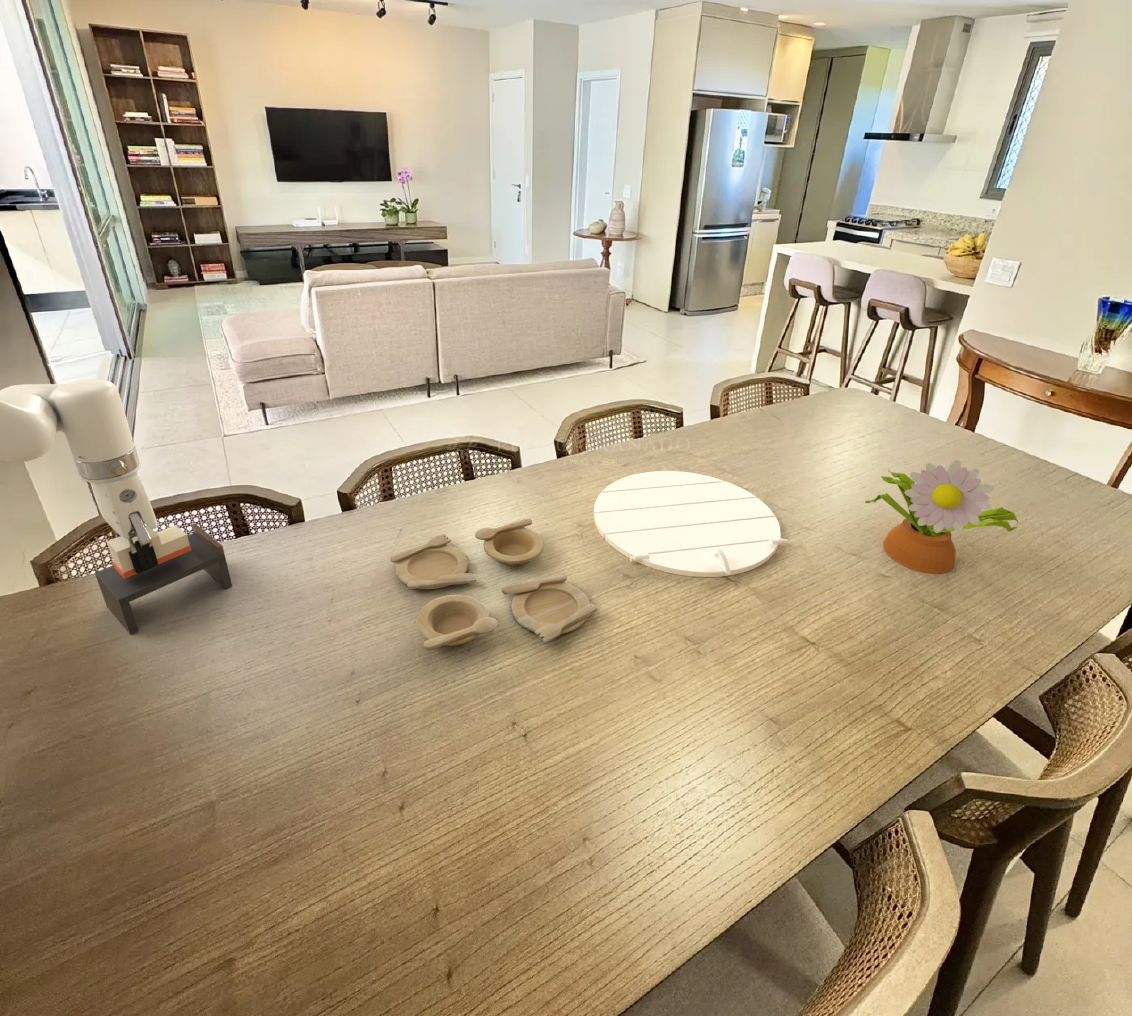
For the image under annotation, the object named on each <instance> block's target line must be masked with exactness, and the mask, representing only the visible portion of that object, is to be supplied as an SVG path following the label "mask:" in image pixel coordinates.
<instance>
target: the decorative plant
mask: <svg viewBox="0 0 1132 1016" xmlns="http://www.w3.org/2000/svg"><path fill="white" fill-rule="evenodd" d="M961 463H962V462H961V461H960V460H959V459H954V460H953V461H952V462H951V463H950V465H949V466H948V468H947V470H946V468H945V467H944V466H943V465H941V464H939V465H937V466H936V465H934V464H933V463H930V462H928V463H926V465H925V469H921V470H920V473H919V472H916V471H911V472H910V473H909V476H908V475H907V474H906V473H905V472H894V471H893V472H892V471H890V469H888V473H890V474H891V476H892V477H891V476H885V475H881V476H880V477H881V479H882V480H883V482H885V483H887V484H893V485H897V487H898V489H899V491H900V493H901V495H902V497H903V498H904V500H905V501H904V502H906V505H907V509H908V511H907V510H905V508H903V506H901V505H900V503H898V502H897V501H896V500H895V499H894V498H893V497H892V496H891V495H890V494H889V493H888V492H886V493H883V494H877V496H876V497H875V498H873V499H869V500H865V501H864V503H865V504H871V503H875V504H876V502H877V501H879V500H881V499H882V500H883V501H884V502H885V503H887V504H888V505H889V506H890V507H891V508H893V509H894V510H895V511H896V512H897V513H899V514H900V515H901V516H903V517H904V519H903V520H902V522H901V523H899V524H897V525H895V526H893V528H891V529H890V531H889V532H888V534H887V535H886V537H885V538H884V540H883V543H882V547H883V549H884V552H885V553H886V554H887V555H888V556H889V557H890V558H891V559H892V560H894V561H895V562H897V563H899V564H900V565H902V566H903V567H906V568H908V569H911V570H914V571H917V572H921V573H926V574H932V575H938V574H939V575H941V574H946V573H947V572H948V573H949V572H950V571H952V570H953V569H954V568H955V562H956V553H957V551H956V547H955V544H954V541H953V539H952V532H954V531H955V532H957V533H961V532H962V531H963V530H968V529H976V528H982V527H991V526H992V527H993V526H996V527H1001V528H1003V529H1006V531H1007V532H1012V531H1014V530H1015V529H1017V528H1019V527H1020V526H1013V527H1012V526H1011V525H1010V523H1009V522H1008V521H1016V523H1017V524H1019V520H1018V518H1017V515H1016V513H1015V512H1013V511H1011V510H1008V509H1005V508H1004V507H1003V506H1002V507H1001V506H1000V507H997V508H992V504H991V503H990V502H988V501H989V500H990V496H989V495H988V494H990V493H991V492H993V491H994V490H995V489H996V488H995V486H994V485H992V484H987V483H982V479H981V478H978V476H979V474H980V470H979V469H978V468H973V469H971V470H968V468H967V467H965V466H963V467H962V464H961ZM894 478H895V479H894ZM981 483H982V484H981ZM991 508H992V509H991Z"/></svg>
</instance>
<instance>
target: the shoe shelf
mask: <svg viewBox="0 0 1132 1016" xmlns="http://www.w3.org/2000/svg"><path fill="white" fill-rule="evenodd" d="M191 529H192V533H190V534H187V537H188V541H189V545H190V548H191V551H189V552H187V553H184V554H182V555H180V556H177V557H175V558H173V559H170V560H168V561H165V562H163V563H161V564H158V565H157V566H155V567H153V568H151V569H148V570H146V571H143V572H141V573H137V574H135V575H132V576H130V577H128V578H125V579H124V578H123V577H122V576H121V575H120V574H119V572H118V571H117V570H116V569H115V568H114V567H113V565H110V566H108V567H105V568H103V569H101V570H98V571H96V572H94V576H95V578H96V581H97V585H98V587H99V590H100V592H101V595H102V597H103V600H104V603H105V606H106V608H107V609H108V610H109V611H110V612H111V613H112V615H113V616H114V617H115V618H116V619H117V621H118V622H119V623H120V624H121V625H122V626H123V628H124V629H125V630H126V631H127V632H128V634H129V635H130V636H131V635H133V634H136V633H137V632H139V627H138V624H137V621H136V619H135V616H134V612H133V610H132V607H131V604H130V602H132V601H135V600H137V599H139V598H141V597H144V596H147V595H148V594H150V593H152V592H155V591H157V590H160V589H162V588H164V587H166V586H169V585H171V584H173V583H176V582H178V581H180V580H181V579H185V578H186V577H189V576H191V575H193V574H196V573H198V572H201V571H202V570H203V571H205V572H206V573H207V575H209V576H210V577H211V578H212V579H213V580H215V581H216V582H217V583H218V584H219V585H220V587H223V589H224V590H227V589H230V588H231V587H233V583H232V579H231V574H230V571H229V567H228V562H227V559H226V555H225V549H224V546H223V545H222V544H221V543H220V542H219V541H217V539H215V538H214V537H213V536H211V535H210V534H209V533H208V532H207V531H205V530H204V529H203V527H201V526H199V525H198V524H197V523H194V524H191Z"/></svg>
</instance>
